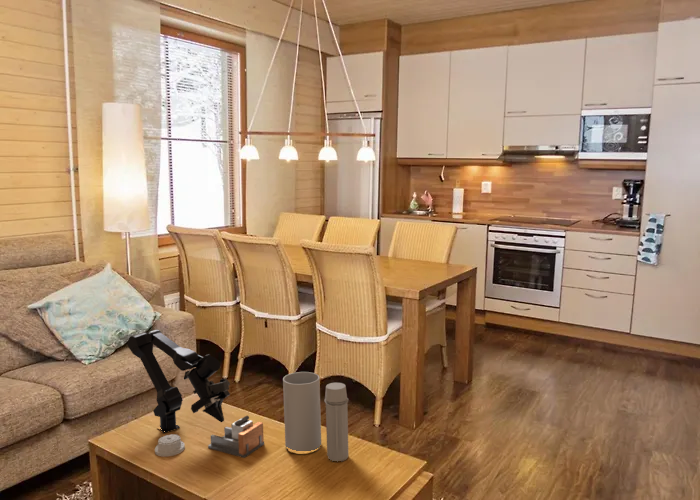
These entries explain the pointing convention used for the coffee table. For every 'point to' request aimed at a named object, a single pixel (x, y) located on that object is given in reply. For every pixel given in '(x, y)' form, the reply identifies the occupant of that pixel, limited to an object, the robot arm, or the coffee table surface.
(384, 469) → the coffee table surface
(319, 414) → the cylinder vase
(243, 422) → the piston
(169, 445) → the mechanical component
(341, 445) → the water bottle
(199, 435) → the coffee table surface
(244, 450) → the grey and orange holder
